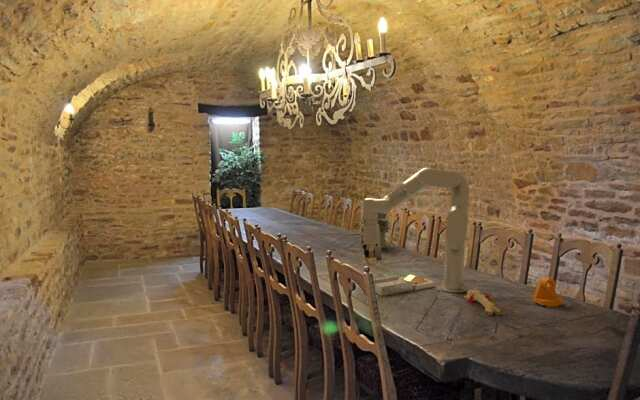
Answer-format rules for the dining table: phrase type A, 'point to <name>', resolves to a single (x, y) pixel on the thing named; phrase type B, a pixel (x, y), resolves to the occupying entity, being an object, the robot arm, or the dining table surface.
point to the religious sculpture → (382, 228)
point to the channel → (392, 285)
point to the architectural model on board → (378, 252)
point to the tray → (424, 285)
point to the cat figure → (483, 301)
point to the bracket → (546, 293)
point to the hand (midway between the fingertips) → (369, 256)
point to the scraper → (370, 256)
